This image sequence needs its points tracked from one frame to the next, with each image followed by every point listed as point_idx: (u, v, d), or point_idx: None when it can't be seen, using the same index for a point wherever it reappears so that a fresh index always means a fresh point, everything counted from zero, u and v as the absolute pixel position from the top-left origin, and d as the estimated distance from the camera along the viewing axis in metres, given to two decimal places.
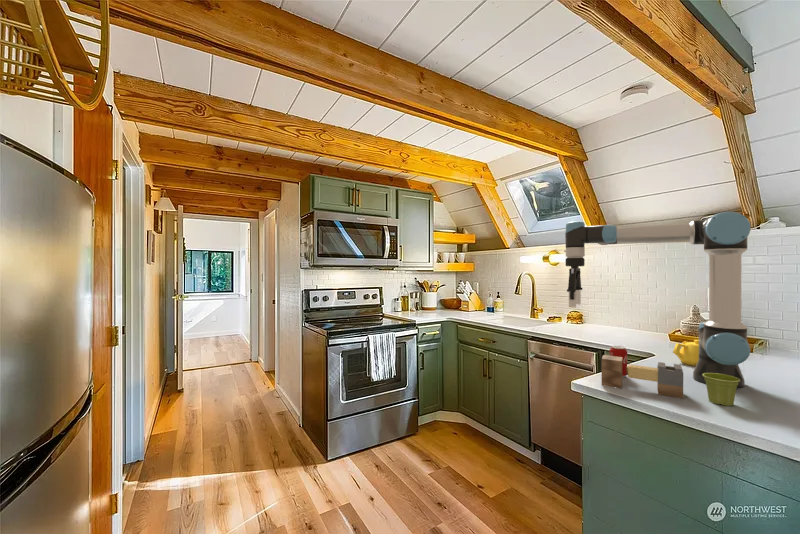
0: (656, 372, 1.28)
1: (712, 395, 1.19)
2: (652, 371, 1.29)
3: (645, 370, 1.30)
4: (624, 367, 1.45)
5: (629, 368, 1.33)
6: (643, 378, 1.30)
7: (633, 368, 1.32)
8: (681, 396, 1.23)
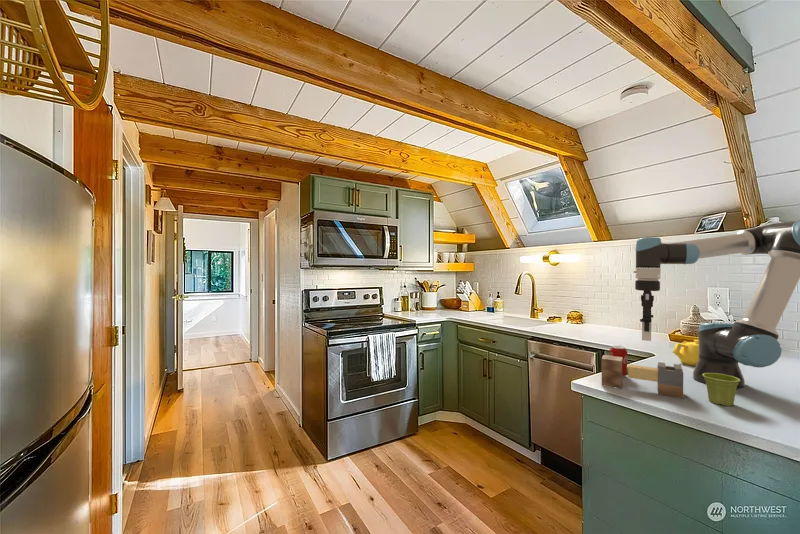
0: (656, 372, 1.28)
1: (712, 395, 1.19)
2: (652, 371, 1.29)
3: (645, 370, 1.30)
4: (624, 367, 1.45)
5: (629, 368, 1.33)
6: (643, 378, 1.30)
7: (633, 368, 1.32)
8: (681, 396, 1.23)
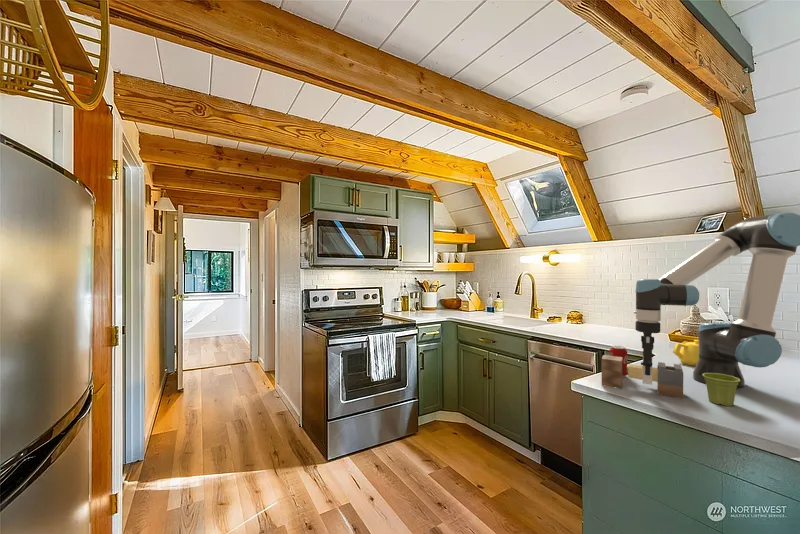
0: (656, 372, 1.28)
1: (712, 395, 1.19)
2: (652, 371, 1.29)
3: None
4: (624, 367, 1.45)
5: (629, 368, 1.33)
6: None
7: (633, 368, 1.32)
8: (681, 396, 1.23)
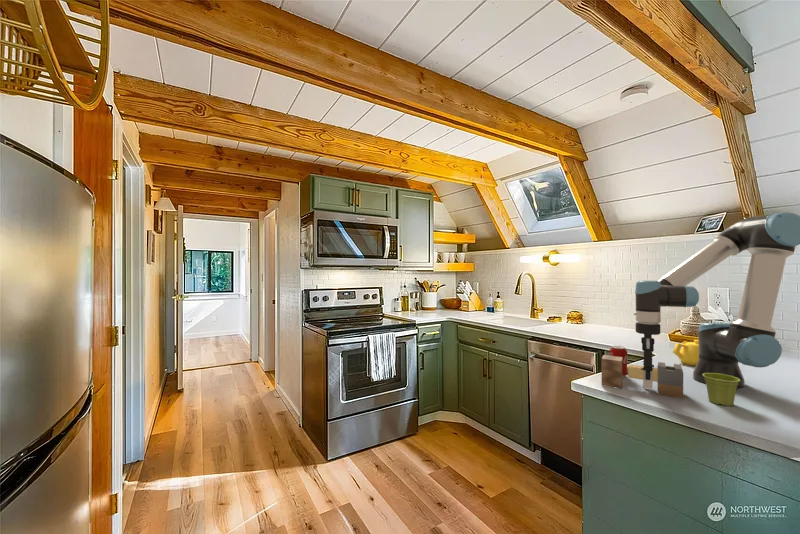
0: (656, 372, 1.28)
1: (712, 395, 1.19)
2: (652, 371, 1.29)
3: None
4: (624, 367, 1.45)
5: (629, 368, 1.33)
6: None
7: (633, 368, 1.32)
8: (681, 396, 1.23)
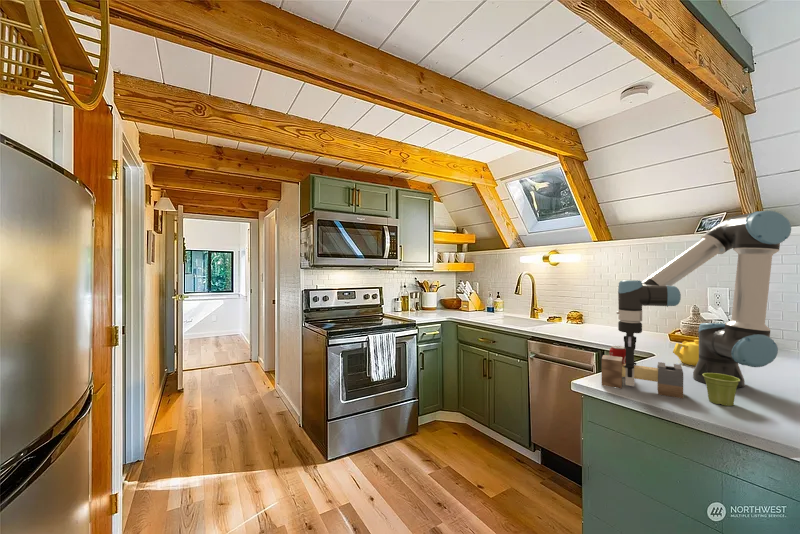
0: (638, 370, 1.31)
1: (712, 395, 1.19)
2: (634, 369, 1.32)
3: None
4: None
5: None
6: None
7: None
8: (681, 396, 1.23)
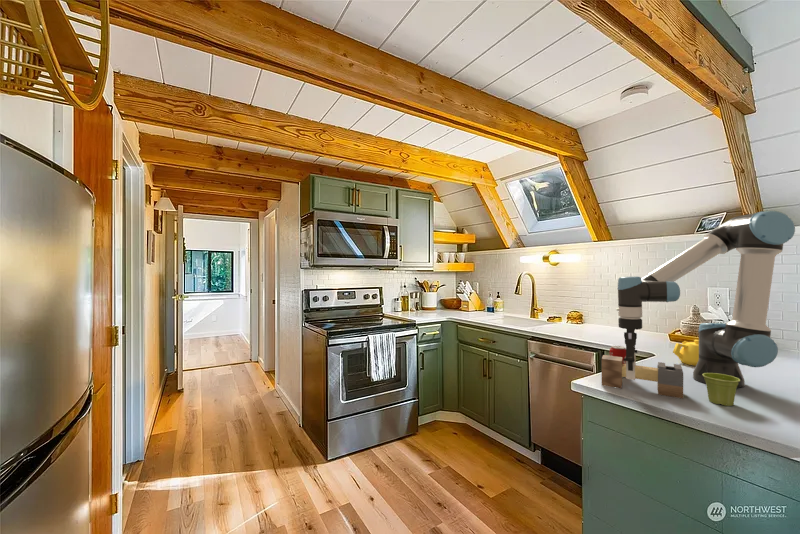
0: (638, 370, 1.31)
1: (712, 395, 1.19)
2: None
3: None
4: None
5: None
6: (625, 375, 1.33)
7: None
8: (681, 396, 1.23)
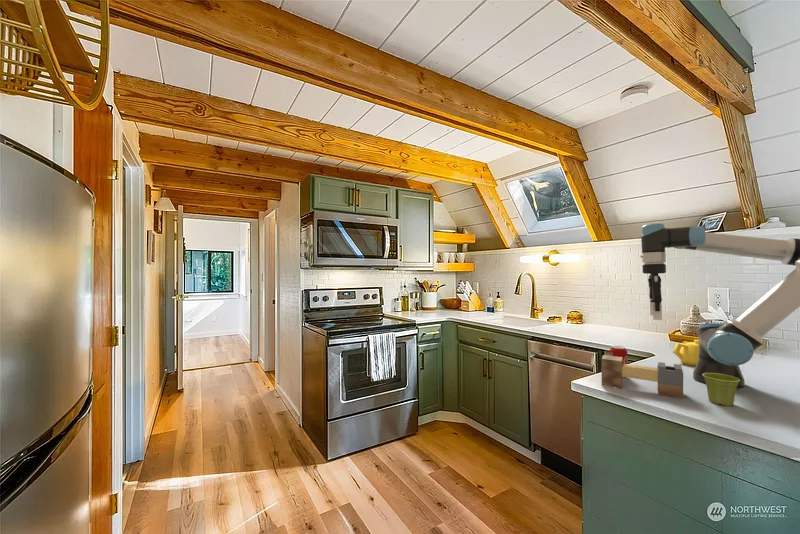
0: (638, 370, 1.31)
1: (712, 395, 1.19)
2: (634, 369, 1.32)
3: (627, 368, 1.33)
4: None
5: None
6: (625, 375, 1.33)
7: None
8: (681, 396, 1.23)
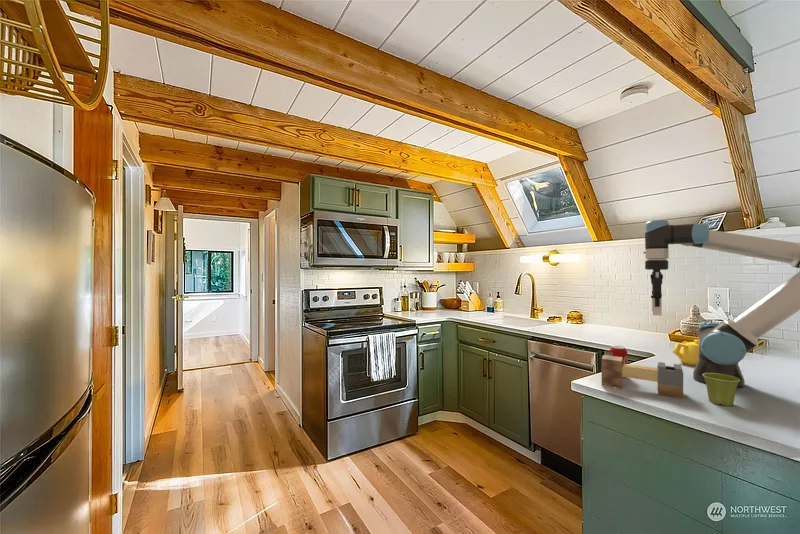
0: (638, 370, 1.31)
1: (712, 395, 1.19)
2: (634, 369, 1.32)
3: (627, 368, 1.33)
4: None
5: None
6: (625, 375, 1.33)
7: None
8: (681, 396, 1.23)
